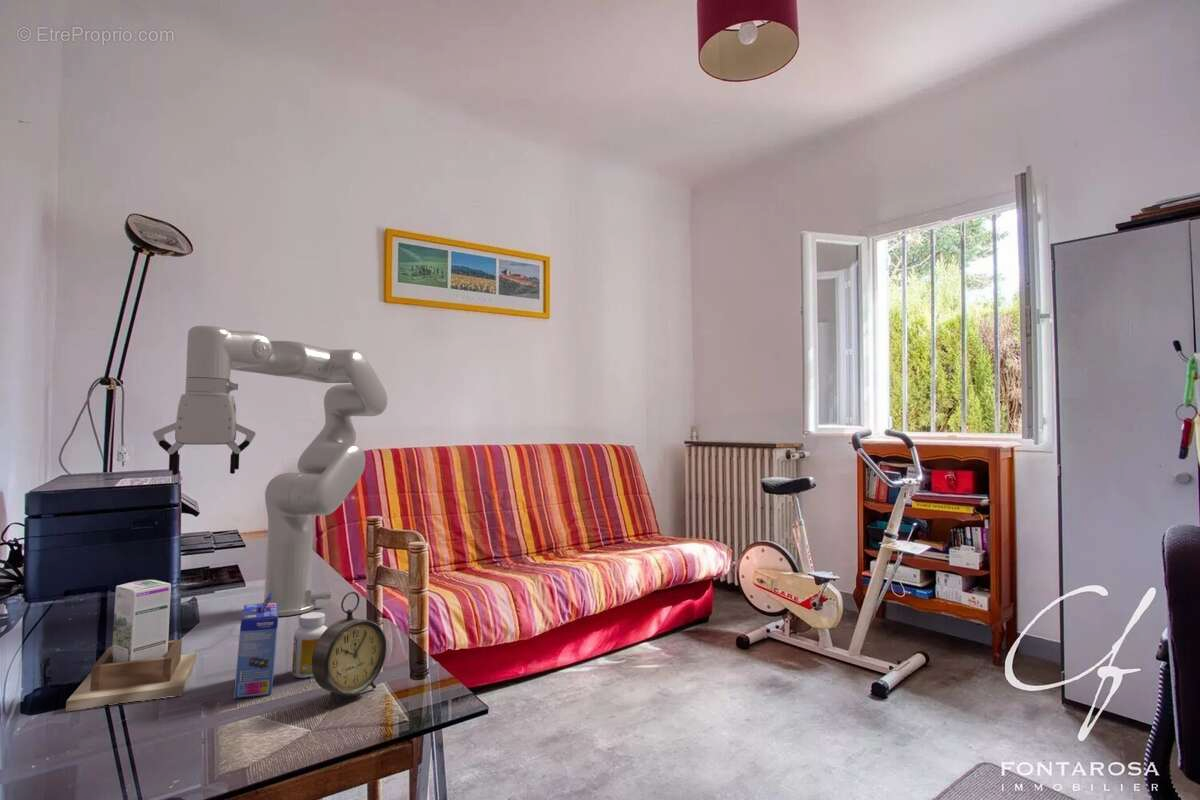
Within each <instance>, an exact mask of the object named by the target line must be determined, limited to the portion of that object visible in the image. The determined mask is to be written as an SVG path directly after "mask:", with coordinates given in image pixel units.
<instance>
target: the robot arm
mask: <svg viewBox="0 0 1200 800" xmlns="http://www.w3.org/2000/svg"><path fill="white" fill-rule="evenodd" d="M186 342H187V345H186V346H187V347H186V369H185V370H186V372H185V374H186V375H185V393H182V394H181V396H180V398H179V401H178V407H177V413H176V418H175V419H176V420H175V422H174V423H171V424H169V425H166V426H163V427H162V428H159V429H157V430H154V431H153V432H152V435H153V436H154V438H155V440H156V442H157V443H158V445H159V447H161V448H162V450H164V451H165V452H166V453H167V454H169V455H168V457H169V458H168V471H172V472H171V473H172V474H171V475H172V476H176V475H178V474H180V461H181V460H180V457H181V456H180V455H181V454H179V450H181V448H182V447H183V446H185V445H191V446H192V445H199V446H200V445H202V446H203V445H204V446H205V445H206V446H207V445H212V446H213V445H215V446H216V445H226V446H227V447H228V448H229V449H230V450H231V454H230V461H229V462H230V464H229V465H230V467H229V474H232V475H234V474H235V473H236V470H240V454H241V452H243V451H244V450H245V449H247V447H248V446H250V444H251V443H252V441H253V439H254V438H255V436H256V432H255V431H254V430H251V429H249V428H247V427H246V426H243V425H240V424H239V423H237V408H236V401H235V396H234V395H230V394H231V392H232V391H238V390H239V383H234V382H232V381H231V371H237V372H238V371H239V372H245V373H256V374H262V375H269V376H274V377H275V376H276V377H284V378H285V377H286V378H292V379H299V380H304V381H305V380H306V381H311V382H317V383H322V384H323V383H324V384H336V385H334V386H330V388H328V389H327V391H326V392H325V394H324V397H323V408H324V416H325V417H324V418H325V423H324V426H323V428H322V429H321V431H320V432H319V433H318V434H317V435H316V437H315V438H314V439H313V441H311V442H310V444H309V445H308V446H307V447H306V448H305V449H304V450H303V452H302V453H301V455H300V457H299V458H298V461H297V469H298V472H284V473H280V474H278V475H275V476H274V477H273V478H272V479H270V481H269V482H268V483H267V485H266V487H265V493H264V500H265V507H266V512H267V543H266V557H265V558H266V559H265V576H264V577H265V578H264V592H263V602H262V603H264V601H265V600H266V598H267V597H268V595H269V594H270V593H271V592H272V598H271V600H270V601H269V603H278V617H287V616H295V615H300V614H301V615H302V614H306V613H309V612H312V610H314V609H316V607H317V600H331V597H332V595H331V594H332V591H331V590H330V589H329V590H325V589H319V590H315V589H312V585H311V577H312V576H311V574H312V573H311V572H312V558H313V556H312V555H313V541H314V539H313V538H314V530H313V526H312V522H311V520H310V517H309V516H328V515H330V514H332V513H334V512H335V511H336V510H337V509H339V507H340V506H341V505H342V504H343V503H344V501H345V499H346V498H347V497H348V495H349V494H350V493H351V491H352V490H353V489H354V487H356V484H357V483H358V482H359V480H360V479H361V477H362V475H363V473H364V471H365V467H366V454H365V452H364V450H363V449H362V448H361V446H359V445H357V444H355V442H356V439H357V433H356V429H355V427H354V424H353V420H352V417H376V416H379V415H382V413H384V412H385V410H386V409H387V405H388V395H387V392H386V389H385V387H384V385H383V383H382V382H381V380H380V378H379V376H378V374H377V373H376V371H375V369H374V368H373V366H372V365H371V363H370V362H369V361H368V358H366V357H365V355H364V354H363V353H361V352H360V351H359V350H357V349H354V348H353V349H352V348H351V349H328V348H325V347H320V346H315V345H311V344H307V343H303V342H300V341H294V340H293V341H291V340H270V339H269V338H268V337H267V336H266V335H265V334H262V333H259V332H257V331H252V330H229V329H227V328H225V327H220V326H215V325H214V326H213V325H195V326H192V327H191V328H189V330H188V332H187V341H186ZM173 431H174V432H175V433H174V439H175V442H174V443H173V444H171V443H169V441H167V440H166V438H165V435H166V434H168V433H172V432H173ZM237 432H239V433H241V434H243V435H245V436H246V437H245V439H243V442H241V443H240V444H237V443H236V442H235V441H236V437H237Z"/></svg>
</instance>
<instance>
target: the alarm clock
mask: <svg viewBox="0 0 1200 800" xmlns="http://www.w3.org/2000/svg"><path fill="white" fill-rule="evenodd" d="M352 594H353V595H354V596H356V598H357V601H356V605H355V607H354V608H353V609H350V608H349V609H347V610H345V608H344V602H345V600H346V598H347V597H348V596H349V595H352ZM340 603H341V604H340V606H341V610H342V612H343V613H345V614H347V615H346V617H345V618H340V619H338V620H337V621H335V622H334V623H332V624H331V625H329V626H327V629H326V630H325V631H324V633H323V634H322V635H321V637H320V638H319V640H318V642H317V644H316V646H315V648H314V651H313V656H312V672H313V676H314V677H313V678H314V680H315V682H316V683H317V685H318V686H319V687H320V688H322V689H323V690H326V691H327V692H330V694H329V696H328V697H327V701H326V703H325V704H324V706H323V707H324V709H328V708H330V704H331V702H332V701H333V699H334V697H335V695H341V696H354V695H357V694H359V693H361V692H363V691H365V690H366V689H367V688H369V686H370V687H371V688H372V689H373V690H375V689H376V688H377V685H376V684H374V682H375V680H376V679H377V677H378V676H379V675H380V672H381V670H382V668H383V666H384V662H385V661H386V660H385V659H386V655H387V640H386V636H385V633H384V631H383V629H382V628H381V626H380V625H379V624H377V623H376V622H375V621H373V620H370V619H362V618H359V617H358V618H357V617H354V616H353V613H354V612H355V611H356V610H357V608H358V607H359V604H360V595H359V594H358V592H356V591H349V592H347V593H346V594H345V595H344V596H343V598H342V599H341V602H340ZM374 688H375V689H374Z"/></svg>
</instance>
